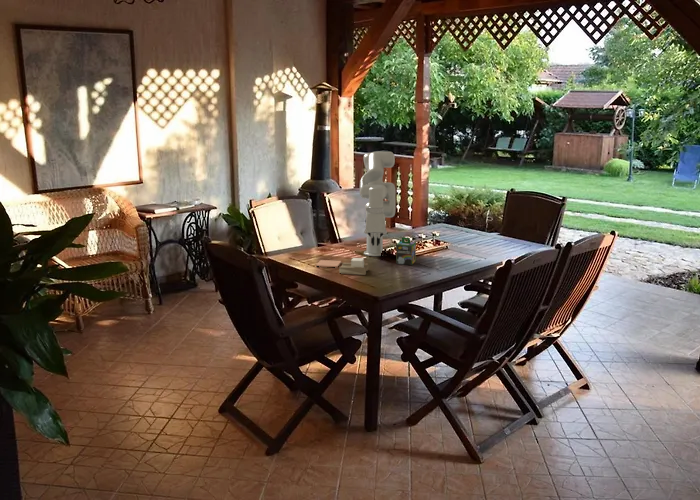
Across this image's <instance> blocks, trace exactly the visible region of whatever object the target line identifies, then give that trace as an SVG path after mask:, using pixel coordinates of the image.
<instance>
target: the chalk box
mask: <svg viewBox="0 0 700 500" xmlns="http://www.w3.org/2000/svg"><path fill="white" fill-rule="evenodd" d="M406 240H407V241H406ZM416 244H417V242H416V241H411V238H410V237H404V236H403V237H401V240H400V241H399V242H398V243H397V244H396V247H395V248H396V258H395V259H396V265H404V266H405V265H407V266H412V265H413V264H415V263H416V262H417V258H416V257H417V250H416V248H417V247H416V246H417V245H416Z"/></svg>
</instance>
